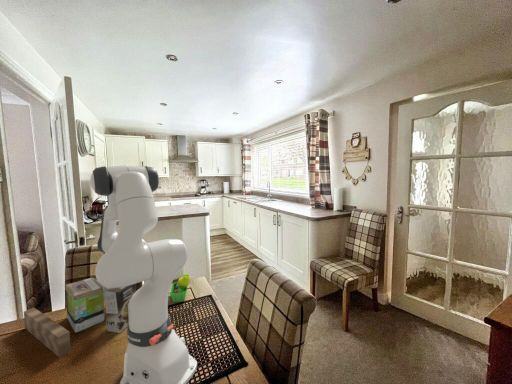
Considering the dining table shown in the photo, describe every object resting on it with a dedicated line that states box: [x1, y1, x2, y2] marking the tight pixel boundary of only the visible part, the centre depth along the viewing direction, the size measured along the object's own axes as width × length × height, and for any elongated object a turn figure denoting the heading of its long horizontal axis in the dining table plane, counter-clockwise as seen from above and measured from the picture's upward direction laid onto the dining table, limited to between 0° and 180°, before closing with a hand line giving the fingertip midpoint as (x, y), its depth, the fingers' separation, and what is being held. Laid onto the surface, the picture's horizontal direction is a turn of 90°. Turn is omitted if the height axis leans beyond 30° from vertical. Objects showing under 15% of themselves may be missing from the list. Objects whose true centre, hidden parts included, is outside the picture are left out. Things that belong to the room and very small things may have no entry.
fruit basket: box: [169, 273, 191, 303], centre depth 108 cm, size 11×9×11 cm
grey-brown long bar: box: [23, 307, 71, 358], centre depth 80 cm, size 30×3×7 cm, turn 62°
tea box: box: [65, 277, 105, 333], centre depth 91 cm, size 15×10×15 cm
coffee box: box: [105, 283, 137, 334], centre depth 88 cm, size 9×6×16 cm
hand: (100, 300), depth 96 cm, fingers closed
